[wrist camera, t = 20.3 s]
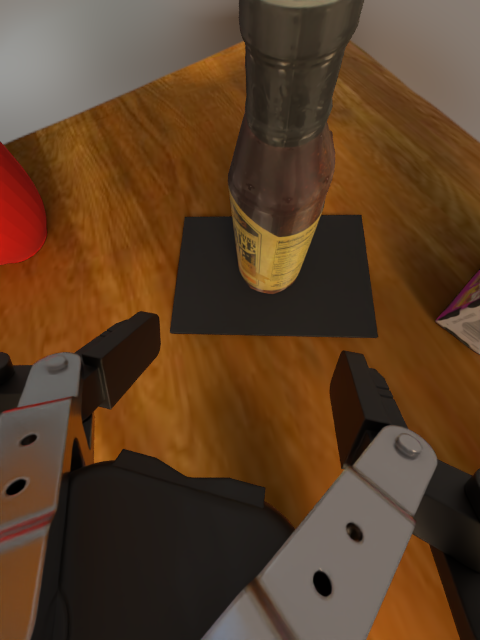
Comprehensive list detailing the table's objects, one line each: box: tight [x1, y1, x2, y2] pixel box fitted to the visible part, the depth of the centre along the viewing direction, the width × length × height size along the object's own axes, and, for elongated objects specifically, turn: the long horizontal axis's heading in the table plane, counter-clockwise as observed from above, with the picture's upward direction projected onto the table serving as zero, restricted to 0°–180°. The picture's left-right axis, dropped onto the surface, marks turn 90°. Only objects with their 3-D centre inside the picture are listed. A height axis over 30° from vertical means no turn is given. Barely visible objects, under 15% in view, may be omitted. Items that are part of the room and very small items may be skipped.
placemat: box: [170, 215, 378, 338], centre depth 27 cm, size 20×14×1 cm
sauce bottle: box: [228, 0, 364, 294], centre depth 17 cm, size 7×6×20 cm
